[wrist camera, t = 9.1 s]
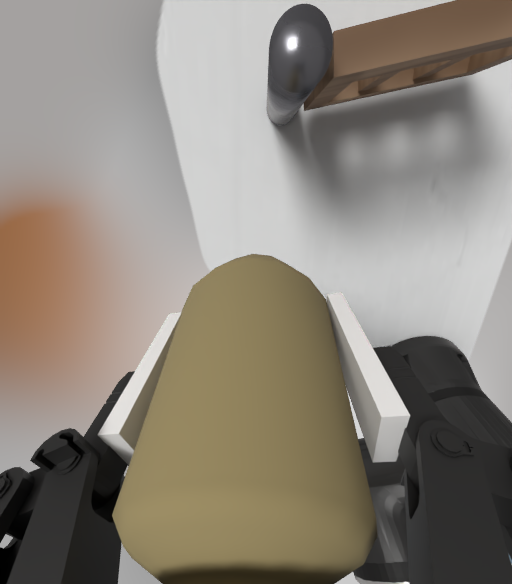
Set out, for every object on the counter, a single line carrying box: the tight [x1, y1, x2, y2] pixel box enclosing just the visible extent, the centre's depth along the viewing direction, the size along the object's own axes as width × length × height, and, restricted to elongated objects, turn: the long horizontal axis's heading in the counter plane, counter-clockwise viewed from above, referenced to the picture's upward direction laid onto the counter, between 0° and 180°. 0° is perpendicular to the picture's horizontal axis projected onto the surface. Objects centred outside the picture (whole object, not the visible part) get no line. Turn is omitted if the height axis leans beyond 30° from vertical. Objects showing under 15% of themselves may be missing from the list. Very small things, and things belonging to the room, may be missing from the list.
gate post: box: [267, 4, 333, 125], centre depth 17 cm, size 3×3×15 cm
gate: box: [304, 0, 512, 111], centre depth 16 cm, size 2×15×11 cm, turn 100°
